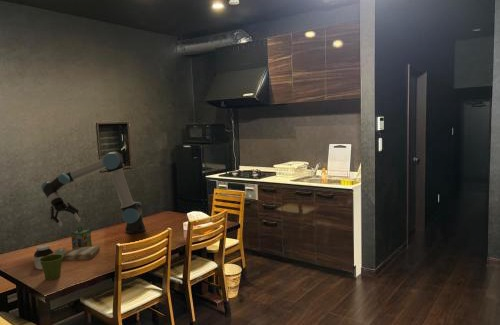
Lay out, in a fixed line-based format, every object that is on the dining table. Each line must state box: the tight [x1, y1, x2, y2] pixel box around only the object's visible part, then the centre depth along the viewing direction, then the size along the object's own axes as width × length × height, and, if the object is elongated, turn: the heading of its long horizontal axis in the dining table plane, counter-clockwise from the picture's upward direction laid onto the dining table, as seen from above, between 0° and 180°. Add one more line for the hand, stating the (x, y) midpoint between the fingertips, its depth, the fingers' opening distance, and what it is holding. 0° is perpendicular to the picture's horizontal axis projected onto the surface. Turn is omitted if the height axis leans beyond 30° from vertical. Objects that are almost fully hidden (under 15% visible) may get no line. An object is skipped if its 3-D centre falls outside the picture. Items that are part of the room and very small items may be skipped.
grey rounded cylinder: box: [54, 247, 67, 261], centre depth 238 cm, size 6×6×6 cm
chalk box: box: [71, 226, 93, 249], centre depth 258 cm, size 9×9×15 cm
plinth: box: [64, 245, 100, 261], centre depth 243 cm, size 16×16×3 cm
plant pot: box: [39, 253, 63, 281], centre depth 207 cm, size 12×12×11 cm
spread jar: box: [33, 244, 54, 270], centre depth 225 cm, size 12×11×12 cm
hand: (70, 223), depth 262 cm, fingers open, 13 cm apart
